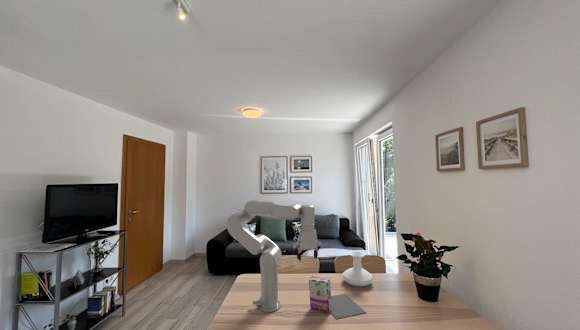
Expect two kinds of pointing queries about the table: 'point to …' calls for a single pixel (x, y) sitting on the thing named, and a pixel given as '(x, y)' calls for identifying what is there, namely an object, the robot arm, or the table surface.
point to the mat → (344, 307)
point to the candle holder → (357, 272)
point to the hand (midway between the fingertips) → (307, 259)
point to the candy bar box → (320, 294)
